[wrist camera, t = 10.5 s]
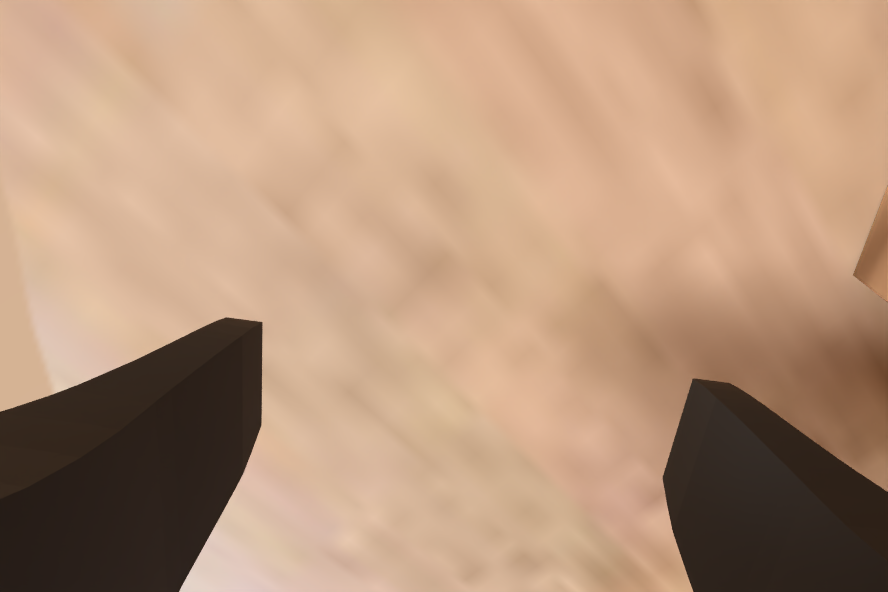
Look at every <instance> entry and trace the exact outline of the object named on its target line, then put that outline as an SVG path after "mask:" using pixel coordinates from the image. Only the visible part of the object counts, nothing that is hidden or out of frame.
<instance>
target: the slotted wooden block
mask: <svg viewBox="0 0 888 592" xmlns="http://www.w3.org/2000/svg"><path fill="white" fill-rule="evenodd" d="M853 275H854V276H855V277H856V278H858V279H859V280H860V281H861V282H863V283H864V284H865V285H866V286H868V287H869V288H870V289H872V290H873V291H874V292H875V293H877V294H878V295H879V296H880V297H882V298H883V299H884V300H886V301H887V302H888V187H887V189H886V192H885V195H884V197H883V200H882V202H881V205H880V207H879V210H878V213H877V215H876V218H875V220H874V223H873V225H872V228H871V231H870V233H869V236H868V238H867V241H866V243H865V246H864V249H863V251H862V254H861V256H860V259H859V261H858V264H857V267H856V269H855V272H854V274H853Z"/></svg>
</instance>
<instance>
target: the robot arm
mask: <svg viewBox="0 0 888 592" xmlns="http://www.w3.org/2000/svg"><path fill="white" fill-rule="evenodd" d="M261 414H262V322H257V321H249V320H242V319H234V318H224V319H221V320H218V321H216V322H213V323H211V324H209V325H207V326H205V327H202V328H200V329H198V330H196V331H194V332H192V333H190V334H188V335H186V336H184V337H182V338H180V339H178V340H176V341H174V342H172V343H170V344H168V345H166V346H164V347H162V348H159V349H157V350H155V351H153V352H151V353H149V354H147V355H145V356H143V357H141V358H139V359H137V360H135V361H132V362H130V363H128V364H125V365H123V366H121V367H118V368H116V369H114V370H112V371H109V372H107V373H105V374H102V375H100V376H98V377H95V378H93V379H91V380H89V381H86V382H84V383H82V384H79V385H77V386H74V387H71V388H69V389H66V390H64V391H61V392H58V393H55V394H53V395H50V396H48V397H44V398H41V399H38V400H36V401H32V402H29V403H26V404H24V405H20V406H17V407H15V408H11V409H8V410H5V411H1V412H0V592H179V591H180V589H181V586H182V585H183V583H184V581H185V579H186V577H187V576H188V574H189V572H190V570H191V568H192V566H193V565H194V563H195V561H196V559H197V557H198V556H199V554H200V552H201V550H202V548H203V547H204V545H205V543H206V541H207V539H208V538H209V536H210V534H211V532H212V530H213V528H214V527H215V525H216V523H217V521H218V519H219V518H220V516H221V514H222V512H223V510H224V508H225V507H226V505H227V503H228V501H229V499H230V497H231V496H232V494H233V492H234V490H235V488H236V486H237V484H238V483H239V481H240V479H241V477H242V475H243V473H244V470H245V467H246V465H247V462H248V460H249V457H250V455H251V452H252V449H253V447H254V444H255V441H256V438H257V436H258V433H259V430H260V427H261ZM663 483H664V488H665V494H666V500H667V506H668V511H669V515H670V520H671V525H672V530H673V533H674V536H675V539H676V542H677V546H678V548H679V551H680V554H681V557H682V560H683V563H684V566H685V569H686V572H687V575H688V578H689V580H690V583H691V586H692V589H693V592H888V492H887V491H885V490H884V489H882V488H881V487H879V486H878V485H876V484H875V483H873V482H872V481H870V480H869V479H867V478H866V477H864V476H863V475H861V474H860V473H858V472H857V471H855V470H854V469H852V468H851V467H849V466H848V465H846V464H845V463H843V462H842V461H841V460H839V459H838V458H836V457H835V456H833V455H832V454H831V453H829V452H828V451H826V450H825V449H824V448H822V447H821V446H819V445H818V444H817V443H815V442H814V441H812V440H811V439H810V438H808V437H807V436H806V435H804V434H803V433H801V432H800V431H799V430H797V429H796V428H795V427H793V426H792V425H791V424H789V423H788V422H786V421H785V420H784V419H782V418H781V417H780V416H778V415H777V414H776V413H774V412H773V411H771V410H770V409H769V408H767V407H766V406H764V405H763V404H762V403H760V402H759V401H757V400H756V399H754V398H753V397H752V396H750V395H749V394H747V393H746V392H744V391H742V390H741V389H739V388H737V387H736V386H734V385H732V384H730V383H724V382H716V381H709V380H701V379H693V380H692V383H691V387H690V390H689V393H688V396H687V400H686V403H685V406H684V409H683V413H682V416H681V419H680V423H679V426H678V429H677V432H676V436H675V439H674V442H673V445H672V449H671V452H670V455H669V458H668V462H667V465H666V468H665V472H664V475H663Z"/></svg>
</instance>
